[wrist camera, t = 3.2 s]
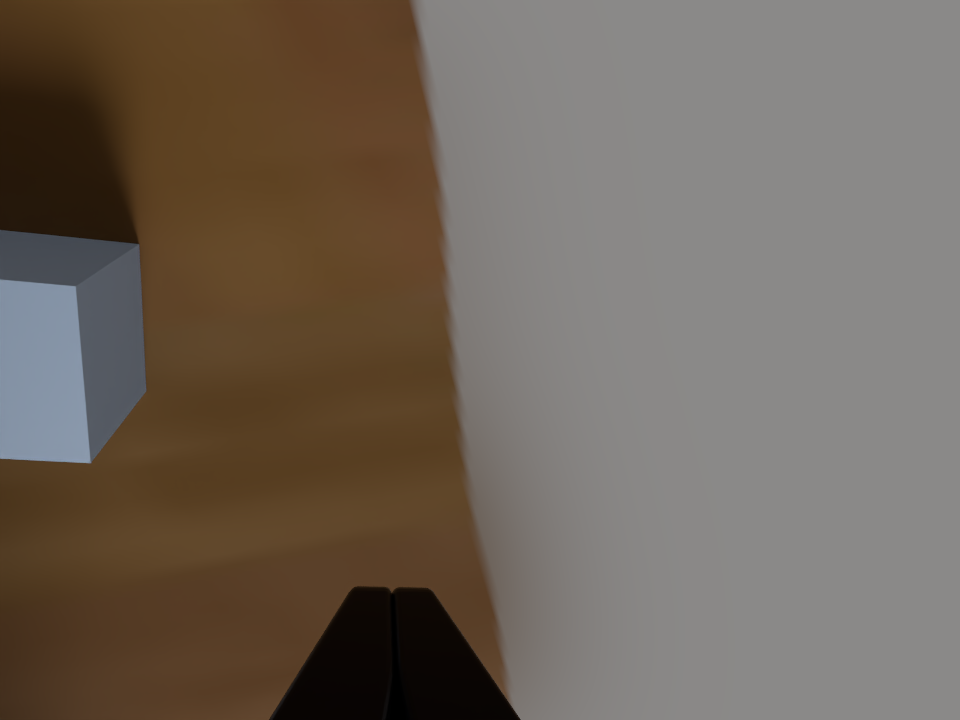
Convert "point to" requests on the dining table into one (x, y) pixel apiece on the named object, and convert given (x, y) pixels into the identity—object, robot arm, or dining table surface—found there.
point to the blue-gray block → (67, 344)
